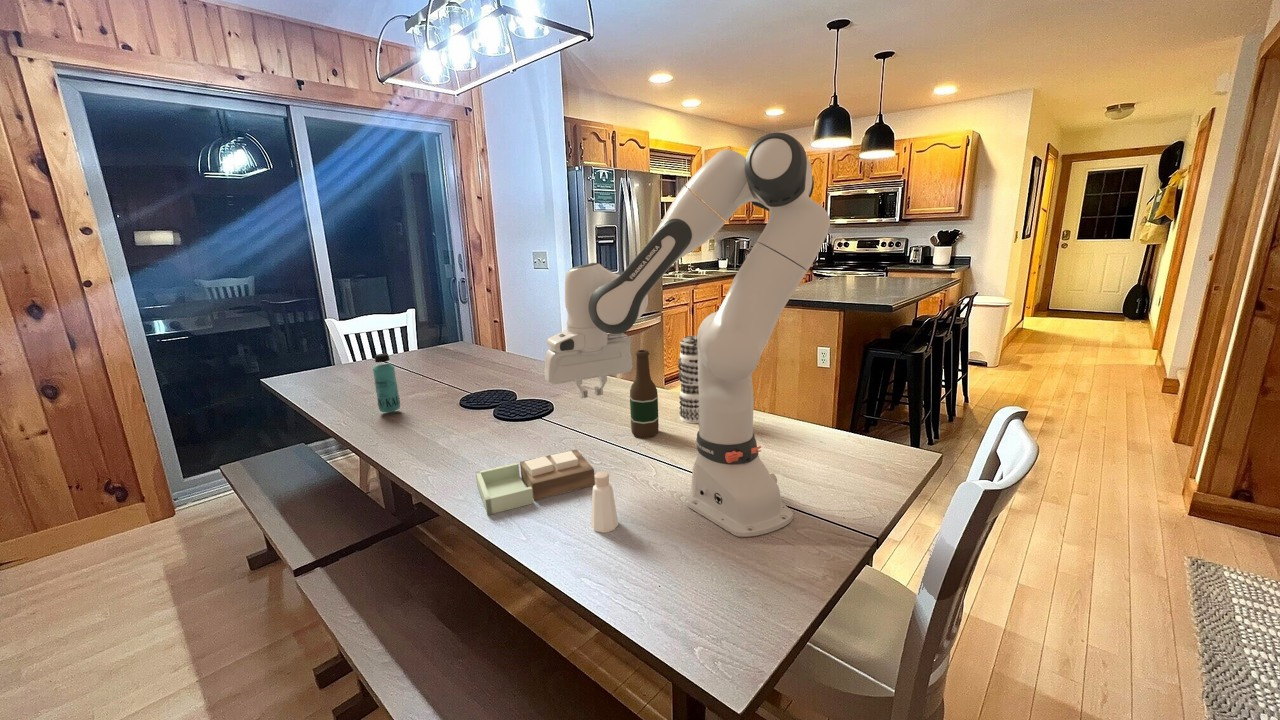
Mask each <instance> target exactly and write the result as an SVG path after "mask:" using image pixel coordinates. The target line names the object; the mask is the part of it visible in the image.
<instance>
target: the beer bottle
mask: <svg viewBox="0 0 1280 720" xmlns="http://www.w3.org/2000/svg"><path fill="white" fill-rule="evenodd" d="M635 356H636V361H635V362H636V363H635V365H636V366H635V370H636V372H635V379H634V381H633V383H632V384H631V386H630V389H629V407H630V408H629V410H630V412H629V413H630V429H631V433H632V435H633V436H634V437H635V438H638V439H639V438H640V439H644V440H645V439H650V438H654V437H655V436H657V435H658V434H659V428H660V427H659V397H658V396H659V395H658V388H657V386H656V384H655V383H654V382H653V380H652V377H651V372H650V371H651V370H650V362H649V361H650V358H649V356H650V352H649V351H648V350H647V349H638V350H637V351H635Z"/></svg>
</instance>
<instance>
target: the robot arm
mask: <svg viewBox="0 0 1280 720" xmlns="http://www.w3.org/2000/svg"><path fill="white" fill-rule="evenodd" d="M814 187H815V182H814V176H813V170H812V164H811V161H810V159H809V157H808V155H807V154H806V150H805V148H804V146H803V145H802V143H801V142H799V140H798V139H796V137H794V136H793V135H790V134H788V133H784V132H770V133H767V134H765V135H763V136H761V137H760V138H758V139H756V141H755V142H754V143H752V144H751V146H750V147H749V149H748V151H747V154H746V155H745V156H744V155H743V154H741V153H739V152H737V151H735V150H733V149H732V150H731V149H723V150H720V151H717V153H715V154H714V155H713V156H711V158H709V159H708V160H707V161H706V162H705V163H704V164H703V165H702V166H701V167H700V168H699V169H698V170H697V171H696V172H695V173H694V174H693V176H692V177H690V179H689V180H687V182H686V183H685V185H684V186H683V187H682V188H681V189H680V191H679V192H678V194H677V195H676V196H675V198H674V199H673V201H672V203H671V204H670V205H669V207H668V208H667V211H666V212H665V214H664V215H663V218H662V220H661V221H660V222H659V225H658V227H657V228H656V230H655V231H654V233H653V235H652V237H651V238H650V240H649V241H648V242H647V243H646V244H645V246H644V247H643V248H642V249H641V250H640V251H639V252H638V254H637V255H636V256H635V257H634V259H633V260H631V262H630V263H629V265H628V266H627V267H626V268H624V271H622V273H621V274H618V273H615V272H613V271H611V270H609V269H607V268H605V266H602V264H600V262H599V263H598V262H589V263H586V264H581V265H577V266H573V267H572V268H569V270H567V272H566V274H565V279H564V280H565V281H564V304H565V305H564V306H565V308H566V313H567V321H566V329H565V330H563V331H560V332H558V333H557V334H555V335H552V336H550V337H548V338H547V340H546V345H547V346H548V348H549V349H548V350H547V351H546V353H545V356H544V379H545V380H546V381H547V383H549V384H550V385H551V386H553V385H555V386H556V385H560V384H567V383H571V382H573V385H574V386H575V387H576V389H577V390H578V394H579V398H580V399H587V398H588V397H589V395H588V393H589V392H588V390H587V389H586V388H582V385H583V380H589V379H591V380H592V379H595V378H596V379H597V378H598V380H599V381H598V384H597V386H594V395H595V396H596V397H599V396H603V395H604V388H605V385H606V383H608V382H607V381H608V376H614V375H621V374H627V373H631V371H632V369H633V367H634V366H633V358H632V353H631V346H632V344H631V343H632V341H631V337H630V336H629V335H628V334H625V332H628V331H629V330H630V329H631V328H632V327H633V326H634V324H635V323H636V322H637V321H638V320H639V319H640V317H641V316H643V314H644V313H645V312H646V310H647V308H648V306H649V303H650V302H649V301H650V298H649V297H650V296H649V292H650V291H651V290H652V289H653V288H654V286H655V285H656V284H657V283H658V282H659V281H660V279H661V278H662V277H663V276H665V274H666V273H667V271H668V270H669V269H670V268H671V267H672V266H673V265H675V263H677V262H678V261H679V260H680V259H682V258H683V257H685V256H686V255H687V254H689V253H691V252H693V251H694V250H697V249H699V248H700V247H702V245H704V244H705V243H706V242H707V241H709V240H710V239H711V238H712V237H713V236H715V235H716V233H718V232H719V231H720V230H721V229H722V228H723V226H724V225H725V224H726V223H727V222H728V221H729V219H731V217H732V215H733V214H734V213H736V211H737V210H738V209H739V208H740V207H741V206H743V205H745V204H746V203H750V202H751V204H752V205H753V206H754V207H757V208H761V209H763V210H764V211H768V212H769V216H768V220H767V222H766V225H765V227H764V228H763V231H762V232H761V234H760V235H759V236H758V239H757V240H756V242H755V243H754V245H753V247H752V248H751V250H750V251H749V253H748V254H747V257H746V258H745V260H744V261H743V263H742V264H741V266H740V268H739V269H738V271H737V272H736V274H735V276H734V277H733V280H732V282H731V284H730V286H729V289H728V291H727V293H726V295H725V297H724V299H723V301H722V303H721V306H720V307H719V308H718V310H717V311H714V312H712V313H710V314H708V315H707V316H706V317H705V318H704V319H703V320H702V322H701V323H700V325H699V327H698V330H697V335H696V336H697V349H698V387H699V423H698V431H697V433H696V438H695V439H696V441H695V443H696V451H697V456H696V459H695V461H694V463H693V466H692V472H691V473H692V474H691V484H690V495H689V496H688V497H687V499H686V501H685V505H686V507H687V508H690V509H691V510H693V511H695V512H696V513H698V514H699V515H701V516H702V517H704V518H706V519H707V520H710V522H712V523H713V524H715V525H717V526H719V527H720V528H722V529H724V530H726V531H727V532H729V533H730V534H732V535H734V536H735V537H742V538H743V537H748V538H749V537H756V536H762V535H765V534H768V533H772V532H775V531H777V530H779V529H780V530H781V528H784V527H785V526H787V525H788V524H790V523H791V522H792V520H793V519H794V512H793V511H792V510H791V509H790V508H789V507H788V506H786V504H785V503H784V502H782V500H781V499H782V498H781V490H780V487H779V485H778V484H777V483H778V479H777V476H776V474H774V473H770V472H769V470H768V468H767V467H766V465H765V464H764V463H763V461H762V459H761V458H760V456H759V452H760V453H761V452H762V450H761V448H762V446H761V445H760V446H758V444H757V442H758V441H757V439H756V436H755V434H754V406H755V405H754V401H755V399H754V389H753V380H752V379H753V376H752V375H753V373H754V372H755V371H756V369H757V367H758V364H759V362H760V359H761V356H762V353H763V351H764V350H765V348H766V346H767V344H768V342H769V340H770V338H771V336H772V334H773V332H774V329H775V327H776V325H777V324H778V320H779V318H780V317H781V314H782V312H783V311H784V309H785V307H786V305H787V304H788V302H789V300H790V299H791V297H792V296H793V294H794V293H795V291H796V290H797V288H798V287H799V285H800V283H801V282H802V280H803V279H804V277H805V276H806V275H807V273H808V272H809V270H810V268H811V267H812V265H813V263H814V261H815V260H816V258H817V257H818V255H819V253H820V251H821V249H822V246H823V245H824V242H825V240H826V238H827V235H828V234H829V233H828V232H829V231H830V228H831V227H830V226H831V219H830V218H831V217H830V215H829V214H828V211H827V210H826V209H825V208H824V207H823V206H822V205H821V204H819V202H817V201H815V200H813V199H812V195H813V192H814Z"/></svg>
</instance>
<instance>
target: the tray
mask: <svg viewBox="0 0 1280 720" xmlns="http://www.w3.org/2000/svg"><path fill="white" fill-rule="evenodd" d="M519 465H520V464H519V463H518V462H514V463H509V464H505V465H500V466H497V467H495V466H494V467H492V468H487V469H482V470H478V471H475V479H476V485H477V490H478V492H479V494H480V498H481V500H482V504H483V506H484V510H485V513H486V512H487V513H486V515H487V516H489V515H493V514H498V513H501V512H505V511H508V510H513V509H517V508H521V507H525V506H528V505H532V504H534V499H533V494H532V488H531V487H526V485H525V483H524V481H523V479H522V477H521V473H520V467H519Z"/></svg>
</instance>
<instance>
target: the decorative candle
mask: <svg viewBox="0 0 1280 720" xmlns="http://www.w3.org/2000/svg"><path fill="white" fill-rule="evenodd" d="M679 344H680V347H679V350H680V352H679V358H678V360H677V363H678V365H677V368H678V375H679V376H678V381H679V383H680V391H679V393H680V395H679V397H678V398H679V400H680V401H679V407H678V409H679V415H680V416H679V419H680V421H681V422H683V423H687V424H699V387H698V349H697V335H688V336H687V335H686V336H684V337H683V338H682V339H681V340H680V342H679Z"/></svg>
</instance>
